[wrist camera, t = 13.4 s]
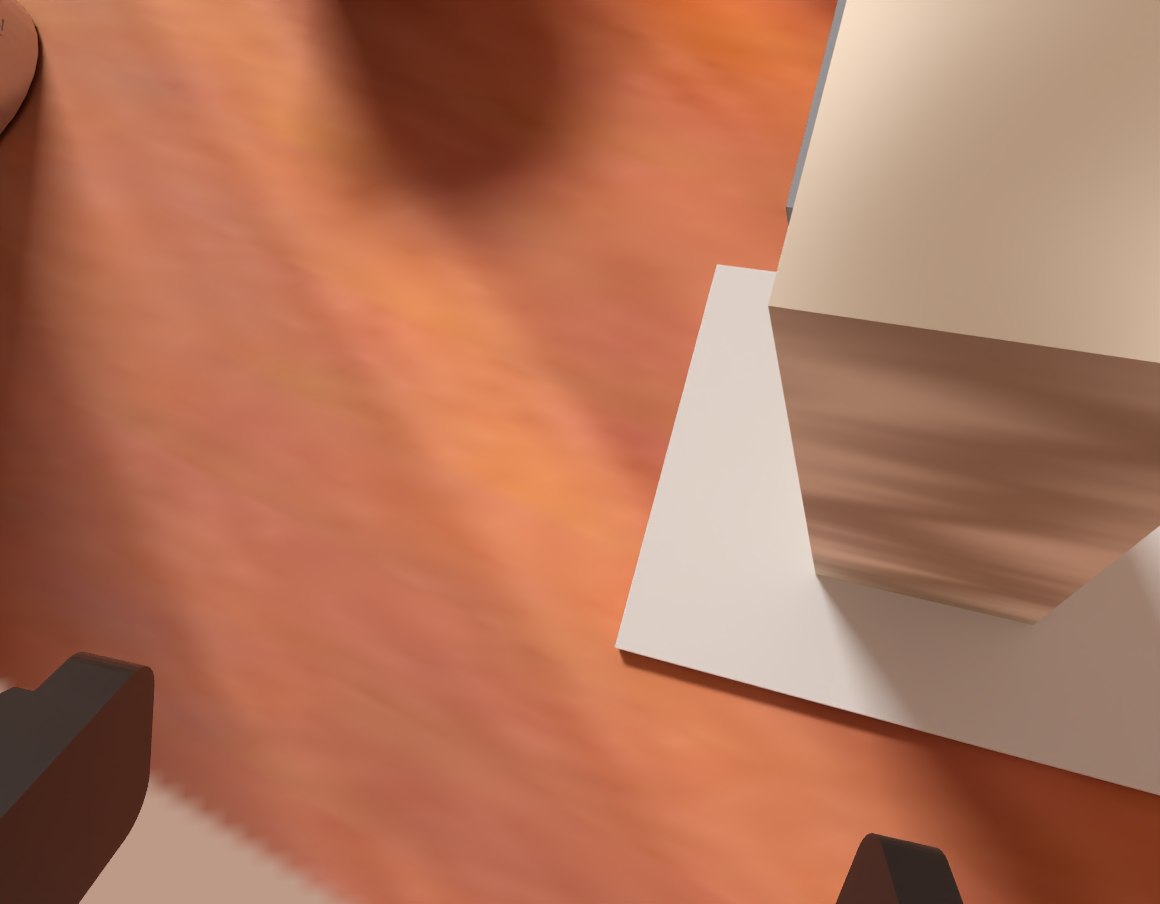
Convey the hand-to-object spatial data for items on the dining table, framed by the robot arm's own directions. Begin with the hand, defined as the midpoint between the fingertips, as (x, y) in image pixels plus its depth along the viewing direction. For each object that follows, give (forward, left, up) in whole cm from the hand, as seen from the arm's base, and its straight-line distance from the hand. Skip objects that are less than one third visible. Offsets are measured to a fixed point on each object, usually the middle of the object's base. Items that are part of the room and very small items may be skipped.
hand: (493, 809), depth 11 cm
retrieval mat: (+4, +8, -14) cm, 17 cm away
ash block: (+4, +8, -14) cm, 16 cm away
